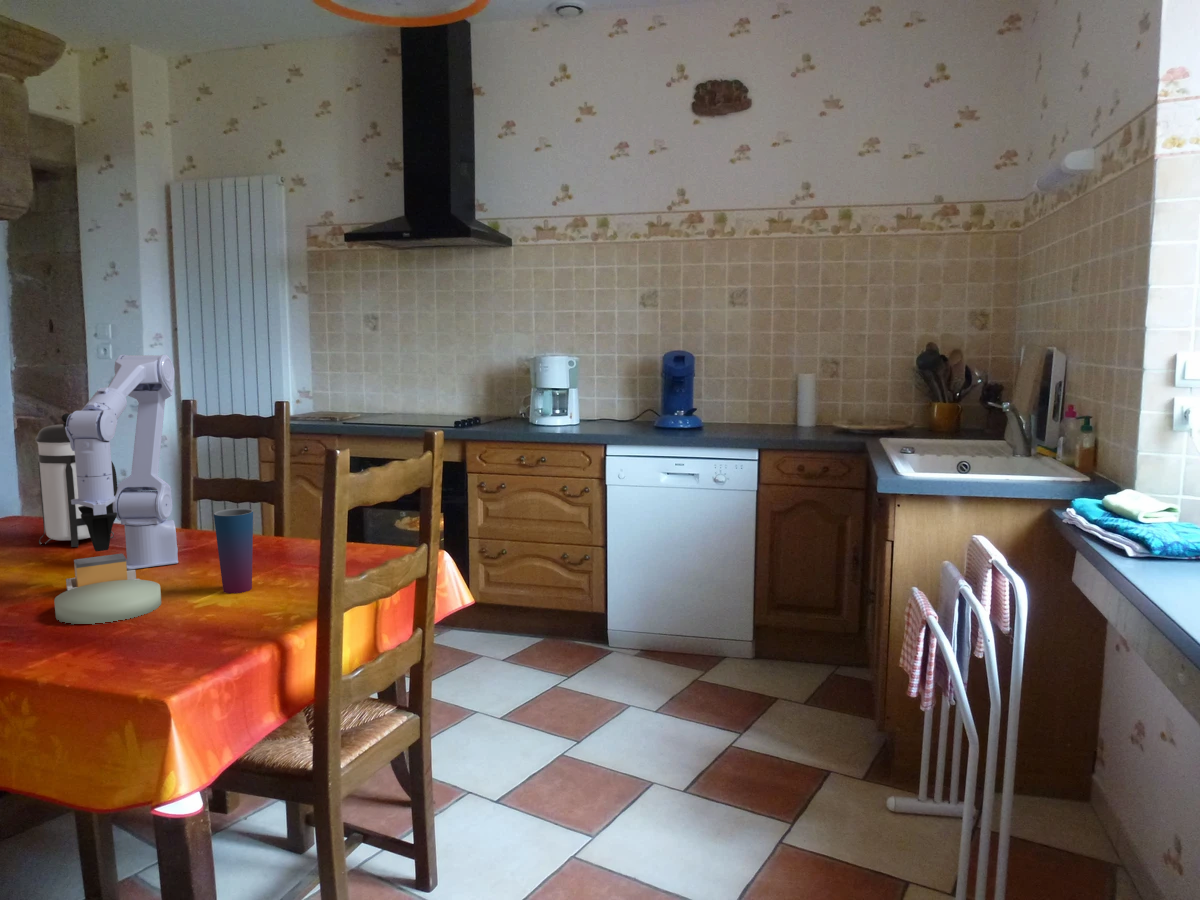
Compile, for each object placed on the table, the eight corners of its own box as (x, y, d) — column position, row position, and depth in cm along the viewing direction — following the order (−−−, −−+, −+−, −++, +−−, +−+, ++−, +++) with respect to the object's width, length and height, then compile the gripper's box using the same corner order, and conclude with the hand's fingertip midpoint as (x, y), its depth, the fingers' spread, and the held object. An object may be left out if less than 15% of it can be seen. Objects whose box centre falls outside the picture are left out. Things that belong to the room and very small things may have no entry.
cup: (219, 597, 154) (214, 517, 152) (217, 587, 160) (212, 510, 158) (258, 592, 157) (254, 513, 155) (255, 582, 163) (251, 507, 161)
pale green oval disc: (148, 577, 166) (147, 563, 166) (167, 613, 145) (166, 596, 144) (52, 591, 157) (51, 575, 157) (57, 631, 136) (55, 613, 135)
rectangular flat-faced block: (124, 583, 162) (122, 553, 161) (128, 589, 159) (125, 558, 158) (76, 591, 158) (73, 559, 157) (78, 597, 154) (76, 564, 153)
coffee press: (31, 553, 185) (19, 417, 181) (46, 537, 199) (35, 411, 195) (121, 545, 191) (111, 415, 187) (129, 530, 206) (120, 409, 202)
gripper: (67, 471, 159) (73, 541, 161) (71, 482, 147) (77, 557, 149) (110, 468, 163) (115, 536, 165) (117, 478, 151) (122, 551, 153)
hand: (100, 546), depth 157 cm, fingers open, 7 cm apart
